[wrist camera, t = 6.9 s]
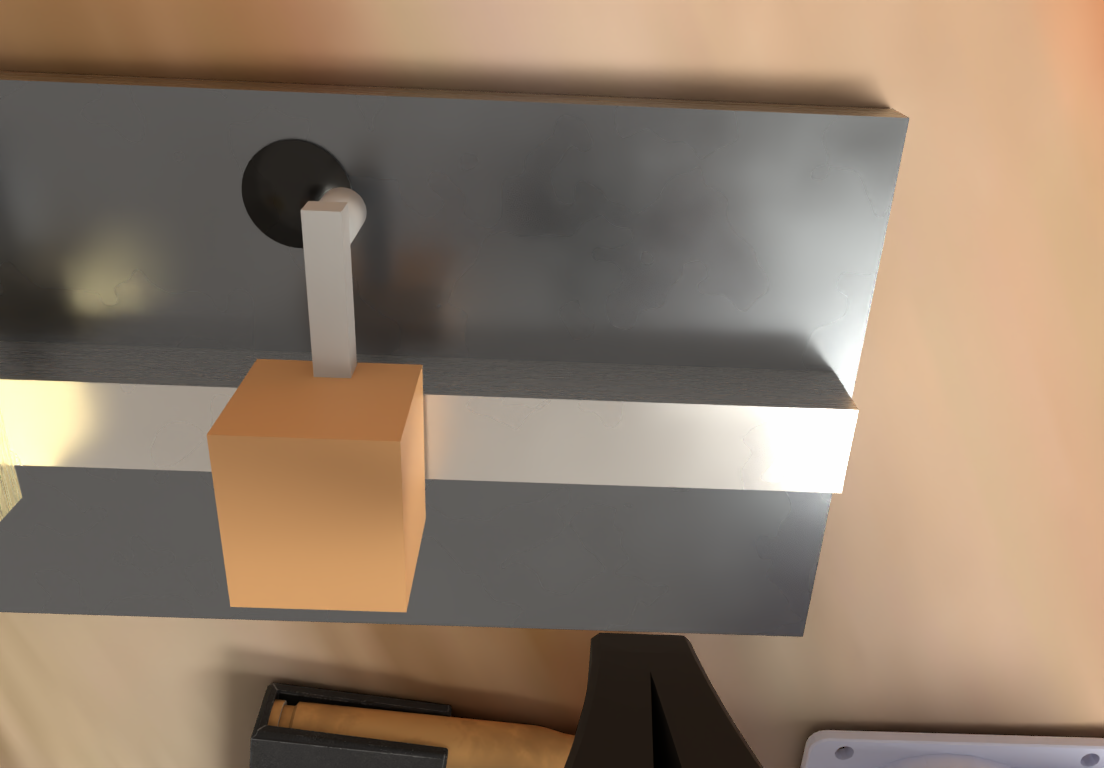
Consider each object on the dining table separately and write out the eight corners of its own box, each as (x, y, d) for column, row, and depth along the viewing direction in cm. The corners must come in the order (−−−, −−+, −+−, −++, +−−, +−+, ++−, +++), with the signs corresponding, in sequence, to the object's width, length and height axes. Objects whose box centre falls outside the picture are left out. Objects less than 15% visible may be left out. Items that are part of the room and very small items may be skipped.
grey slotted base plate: (892, 108, 19) (1019, 179, 14) (793, 610, 25) (858, 793, 20) (-202, 62, 19) (-490, 117, 14) (-45, 584, 24) (-206, 763, 19)
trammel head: (426, 187, 18) (393, 257, 14) (431, 490, 21) (406, 612, 17) (256, 180, 18) (180, 248, 14) (286, 485, 21) (230, 607, 17)
